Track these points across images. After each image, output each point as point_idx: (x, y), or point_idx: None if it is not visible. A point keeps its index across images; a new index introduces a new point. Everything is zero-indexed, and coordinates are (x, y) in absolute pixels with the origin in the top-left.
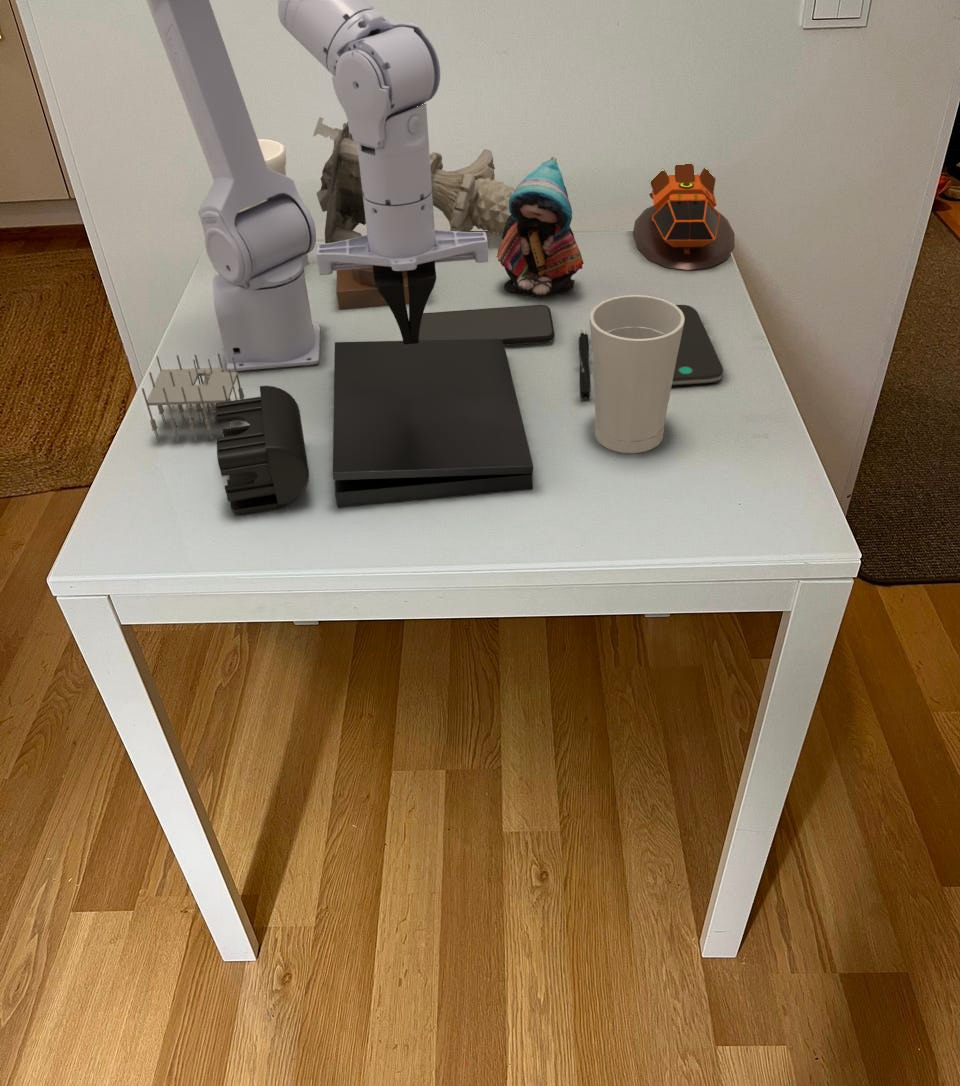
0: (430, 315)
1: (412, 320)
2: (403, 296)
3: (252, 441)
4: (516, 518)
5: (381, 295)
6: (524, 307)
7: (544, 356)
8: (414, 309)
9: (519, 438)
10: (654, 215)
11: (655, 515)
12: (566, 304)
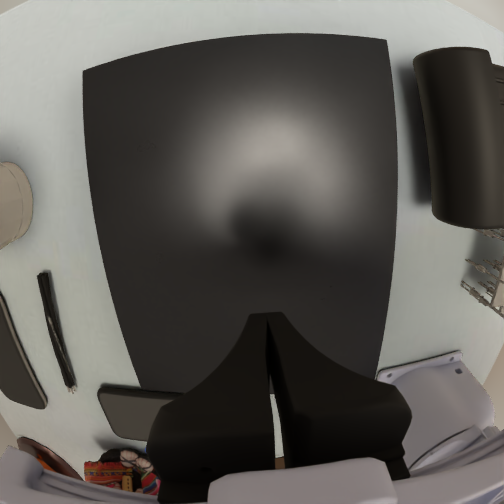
0: None
1: (260, 340)
2: (291, 385)
3: (501, 89)
4: (127, 24)
5: None
6: (139, 438)
7: (104, 366)
8: (252, 359)
9: (93, 135)
10: None
11: (5, 60)
12: (106, 436)
